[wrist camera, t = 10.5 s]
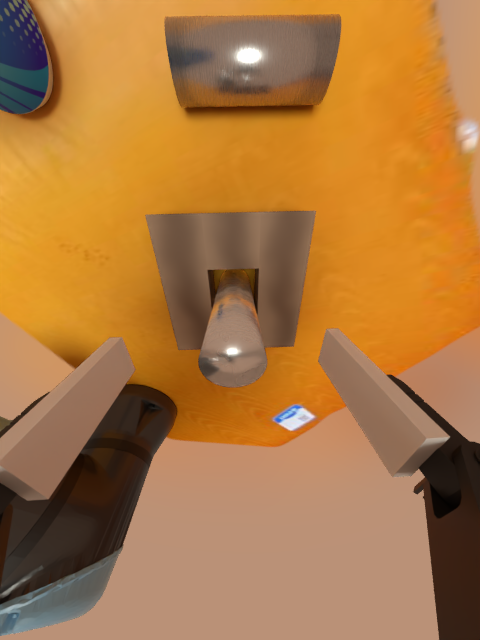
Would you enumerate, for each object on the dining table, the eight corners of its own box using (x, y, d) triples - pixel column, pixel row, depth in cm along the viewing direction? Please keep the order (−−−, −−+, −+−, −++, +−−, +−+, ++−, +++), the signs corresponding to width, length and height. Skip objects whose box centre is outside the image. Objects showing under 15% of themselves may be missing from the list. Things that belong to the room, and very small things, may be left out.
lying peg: (160, 19, 11) (170, 14, 13) (179, 114, 15) (185, 100, 16) (347, 16, 11) (330, 12, 13) (322, 111, 15) (311, 98, 17)
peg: (221, 295, 25) (203, 388, 11) (219, 267, 23) (193, 337, 9) (249, 295, 25) (265, 386, 11) (249, 266, 23) (269, 334, 9)
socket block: (186, 332, 28) (178, 349, 24) (162, 216, 20) (145, 214, 16) (285, 329, 28) (293, 346, 24) (300, 213, 20) (316, 210, 16)
